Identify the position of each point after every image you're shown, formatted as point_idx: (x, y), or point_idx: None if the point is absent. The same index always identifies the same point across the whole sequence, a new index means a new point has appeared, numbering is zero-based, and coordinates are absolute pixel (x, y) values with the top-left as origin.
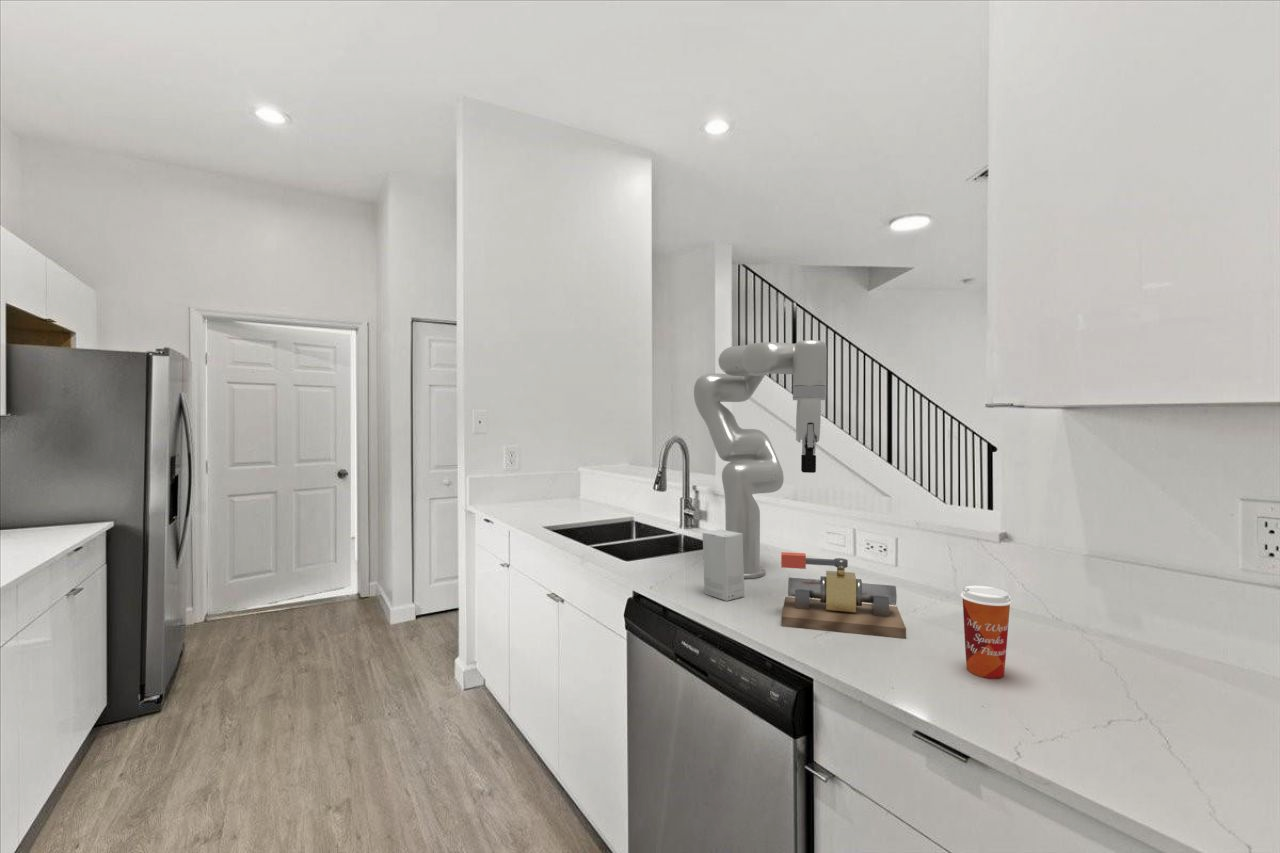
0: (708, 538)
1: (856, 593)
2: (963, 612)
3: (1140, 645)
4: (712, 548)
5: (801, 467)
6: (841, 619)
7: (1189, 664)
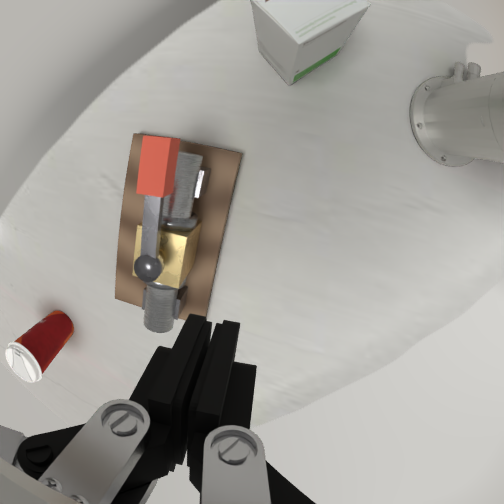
0: None
1: None
2: (31, 337)
3: None
4: None
5: (217, 334)
6: (130, 224)
7: None
